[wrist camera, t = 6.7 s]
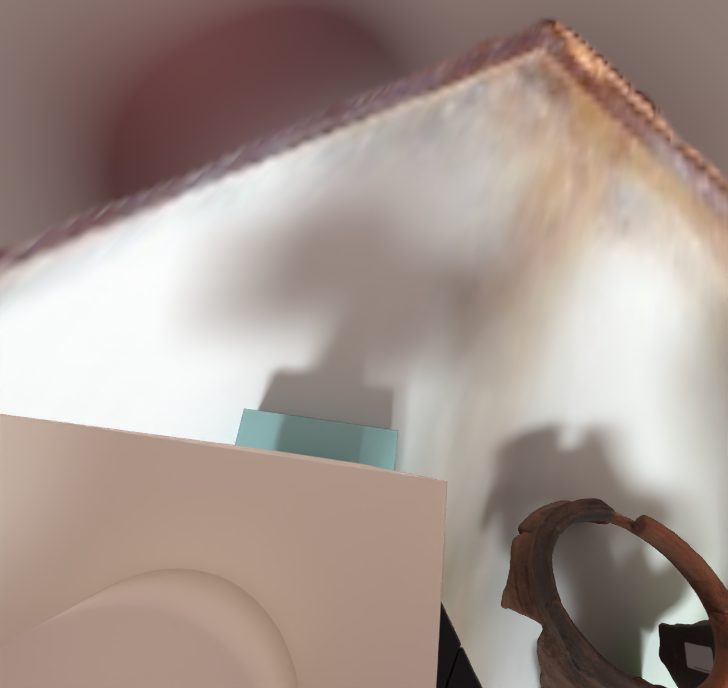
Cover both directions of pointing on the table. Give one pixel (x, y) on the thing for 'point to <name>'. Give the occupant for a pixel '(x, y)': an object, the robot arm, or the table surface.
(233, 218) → the table surface
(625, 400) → the table surface
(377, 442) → the base brick
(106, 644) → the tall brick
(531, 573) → the brown curved loop piece
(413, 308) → the table surface
